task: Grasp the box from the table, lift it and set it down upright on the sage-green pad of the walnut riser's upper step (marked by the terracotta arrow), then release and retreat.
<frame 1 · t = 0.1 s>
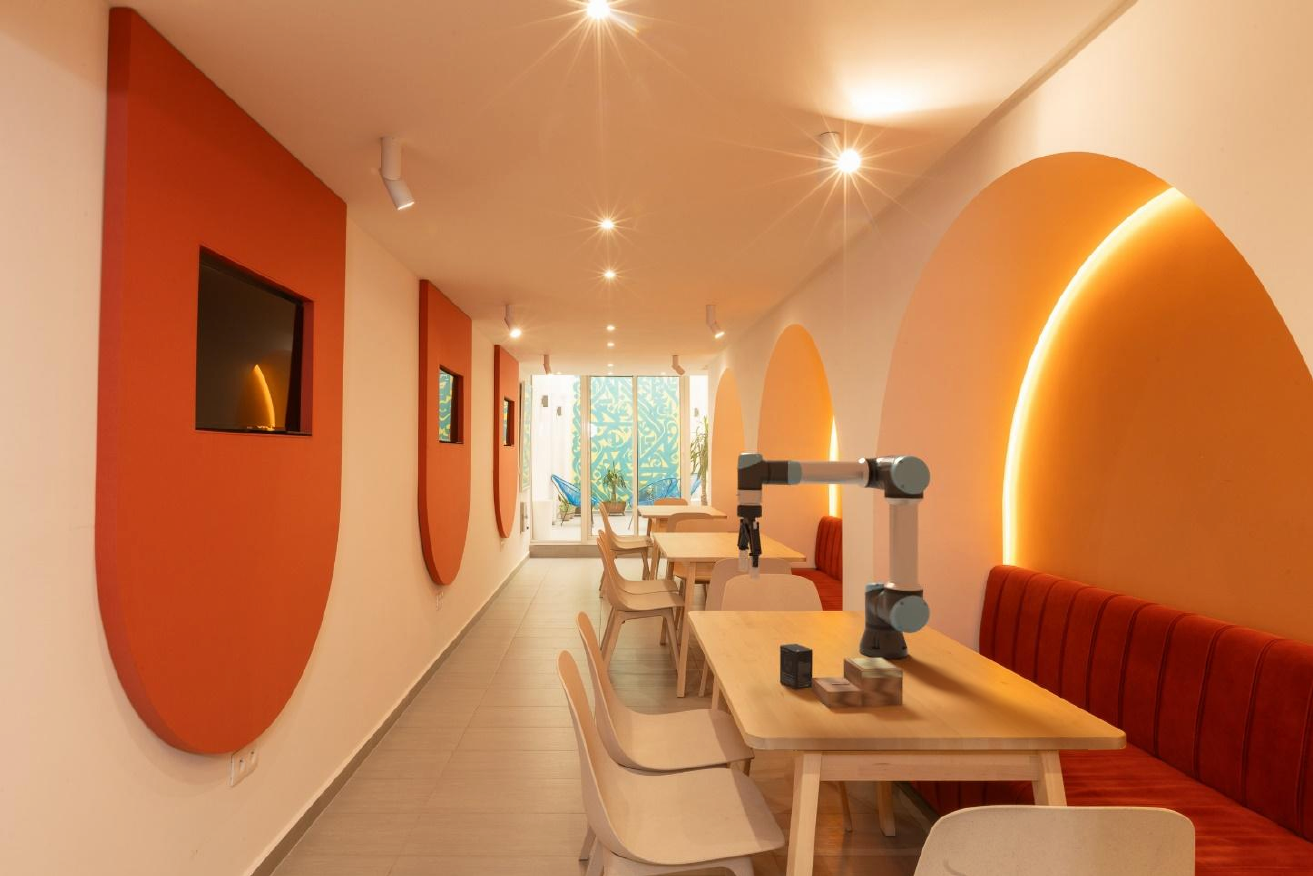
hand: (748, 574, 221), 28 cm above the table, fingers open, 13 cm apart
stand: (855, 699, 193), on the table
box: (795, 686, 204), on the table
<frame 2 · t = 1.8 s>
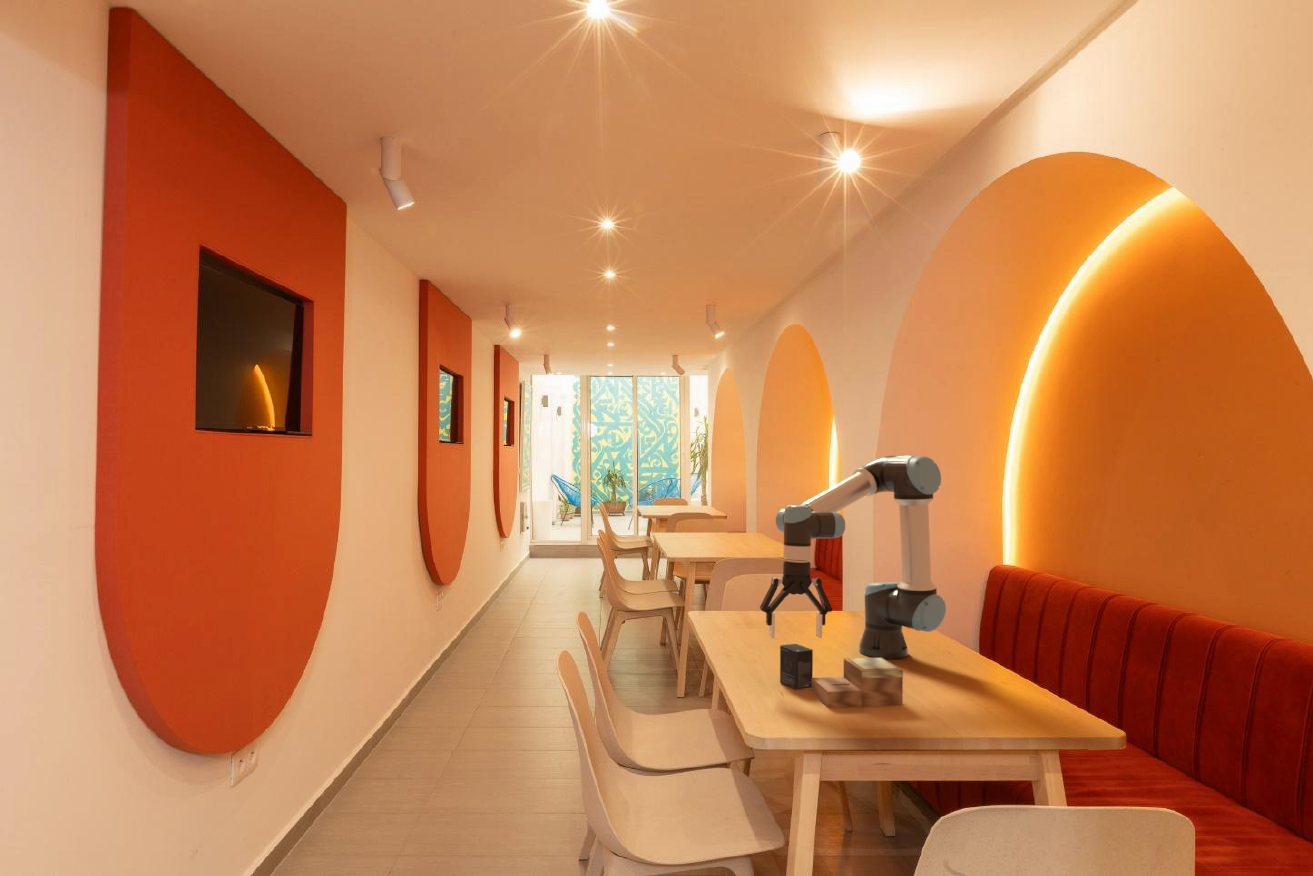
hand: (795, 637, 204), 13 cm above the table, fingers open, 13 cm apart
nothing on the table moved.
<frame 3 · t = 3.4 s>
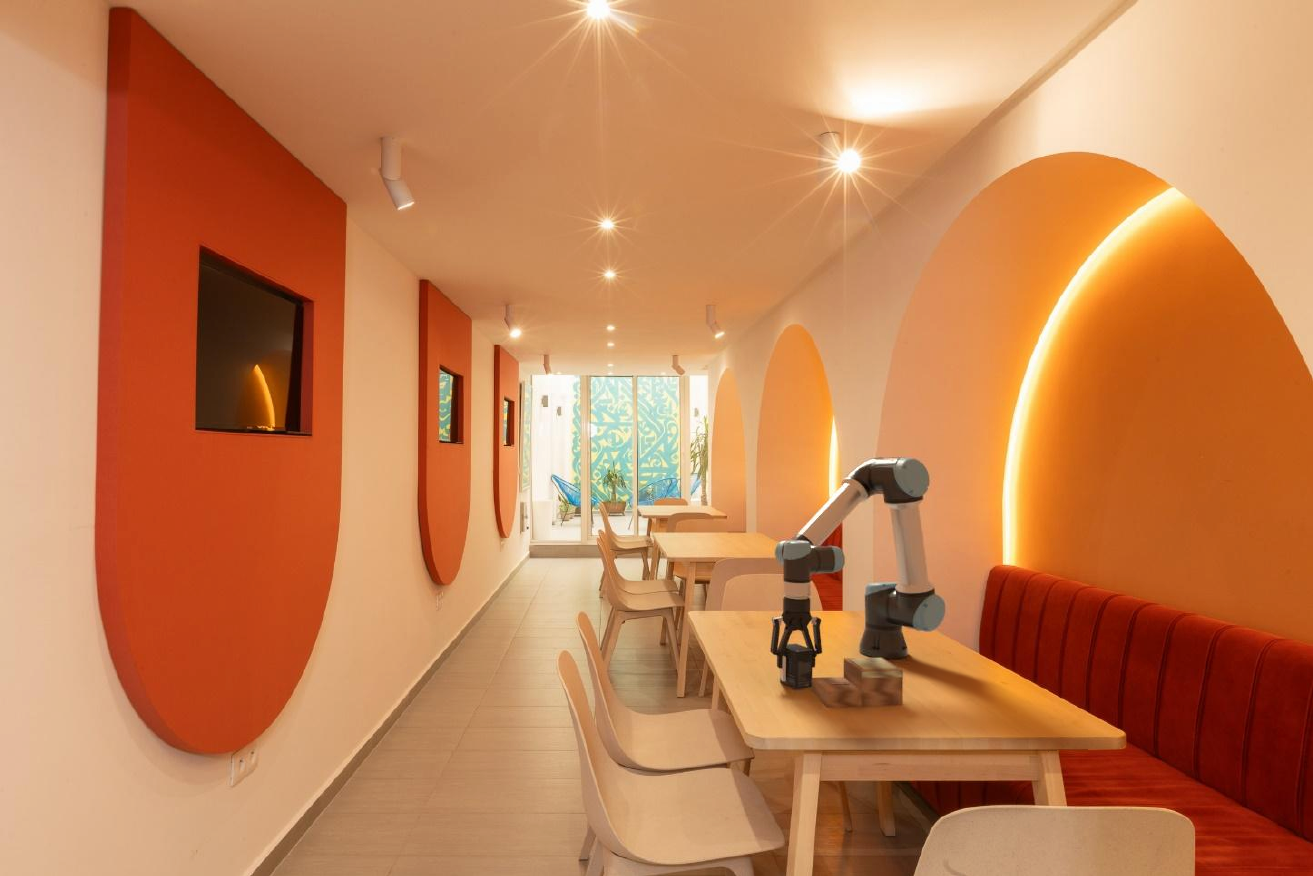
hand: (795, 679, 204), 2 cm above the table, fingers closed on box, 7 cm apart
box: (795, 685, 204), on the table, touching gripper
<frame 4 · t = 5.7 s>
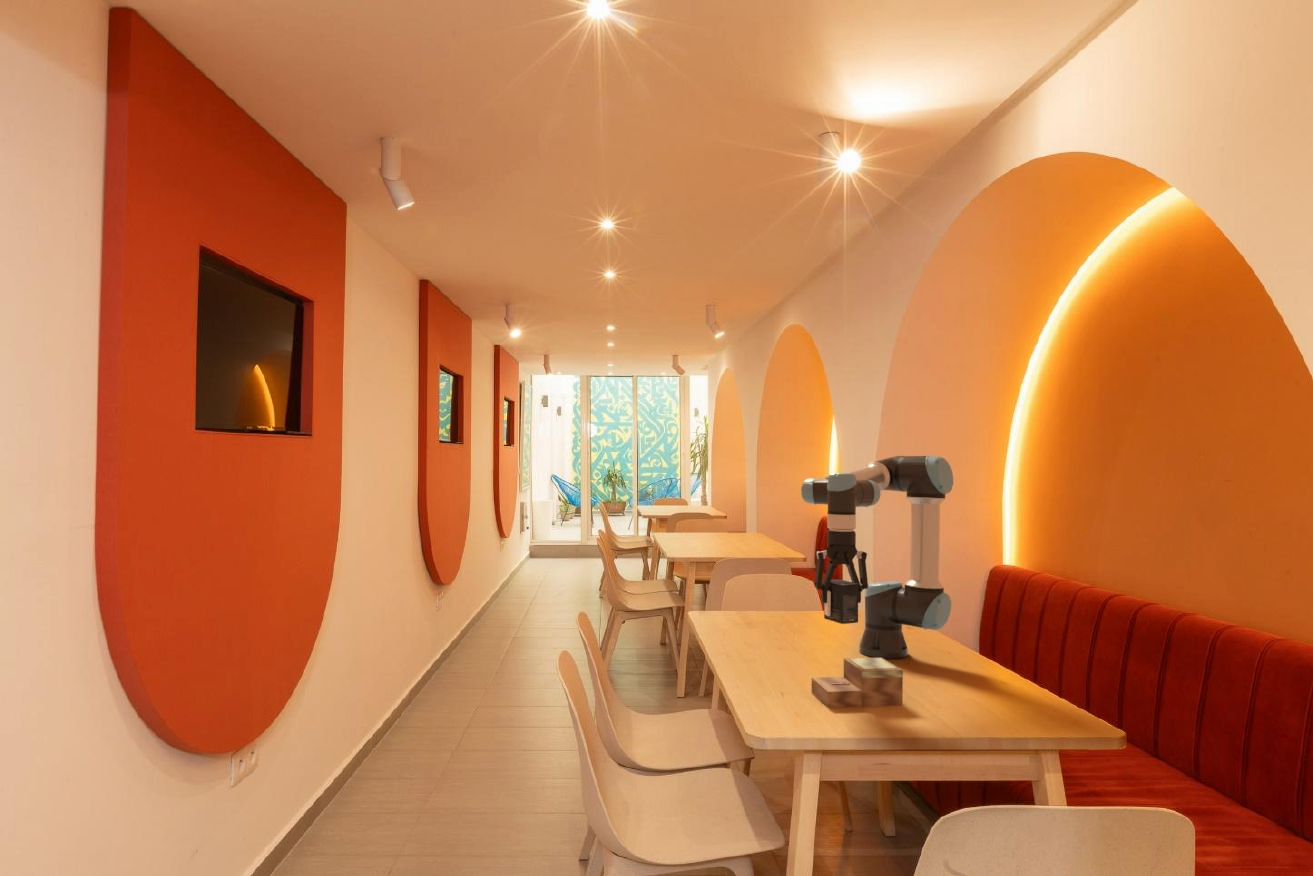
hand: (841, 614, 199), 21 cm above the table, fingers closed on box, 7 cm apart
box: (840, 621, 198), point 19 cm above the table, touching gripper
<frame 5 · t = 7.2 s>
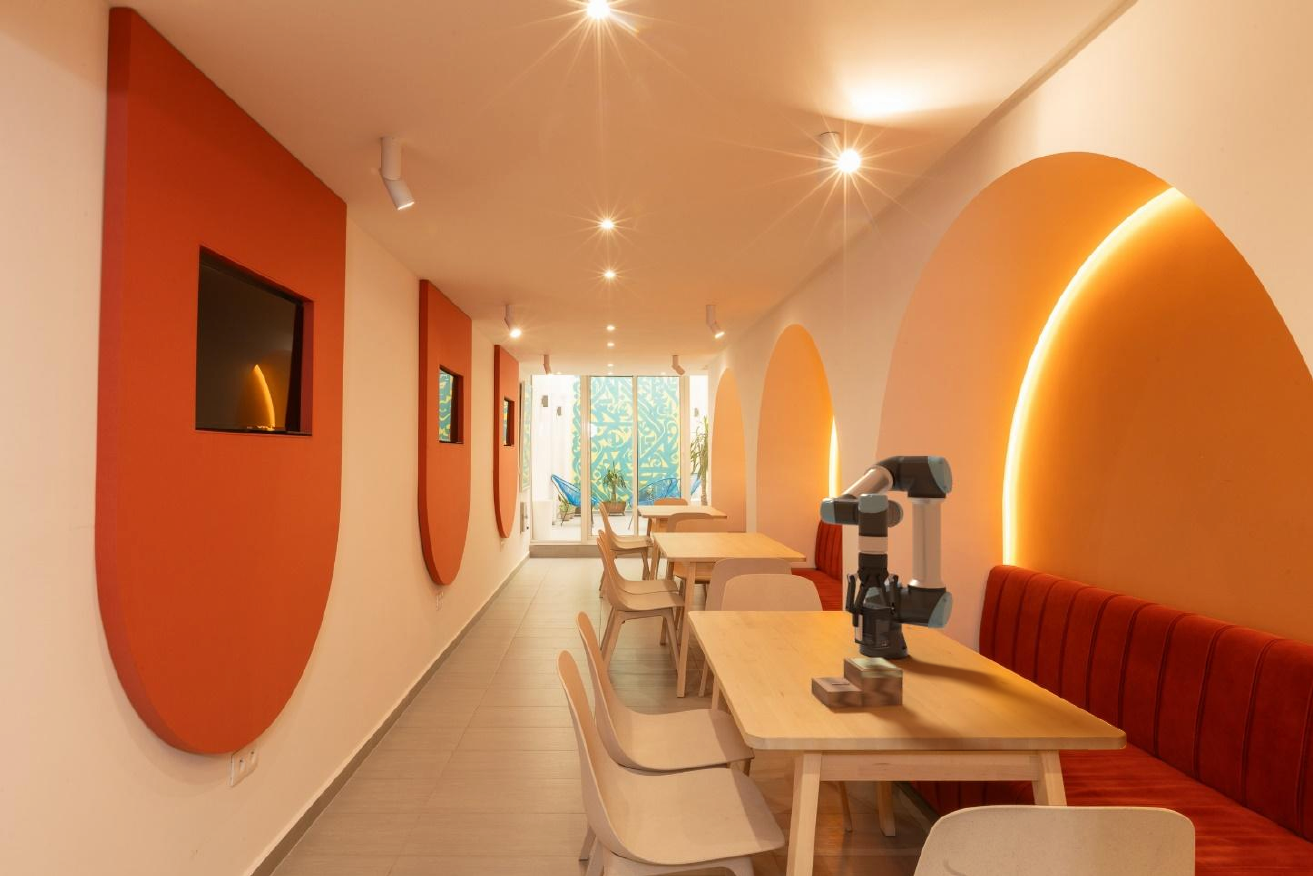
hand: (872, 639, 194), 16 cm above the table, fingers closed on box, 7 cm apart
box: (872, 646, 194), point 14 cm above the table, touching gripper
when the fingers open (12 cm above the table, at t = 8.1 s): box drops 1 cm, resting on stand.
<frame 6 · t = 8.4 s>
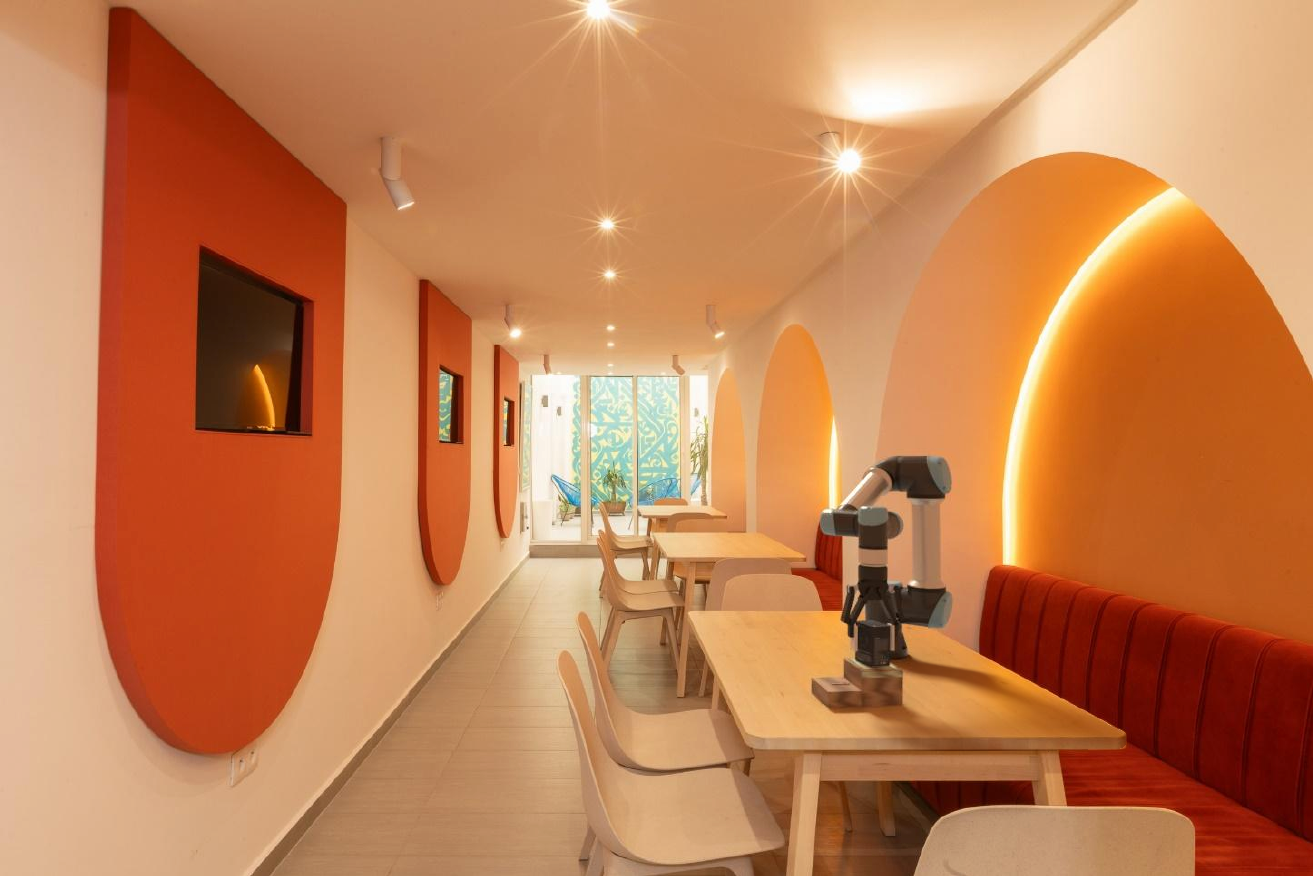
hand: (872, 649, 194), 13 cm above the table, fingers open, 9 cm apart
box: (872, 663, 194), point 9 cm above the table, touching stand
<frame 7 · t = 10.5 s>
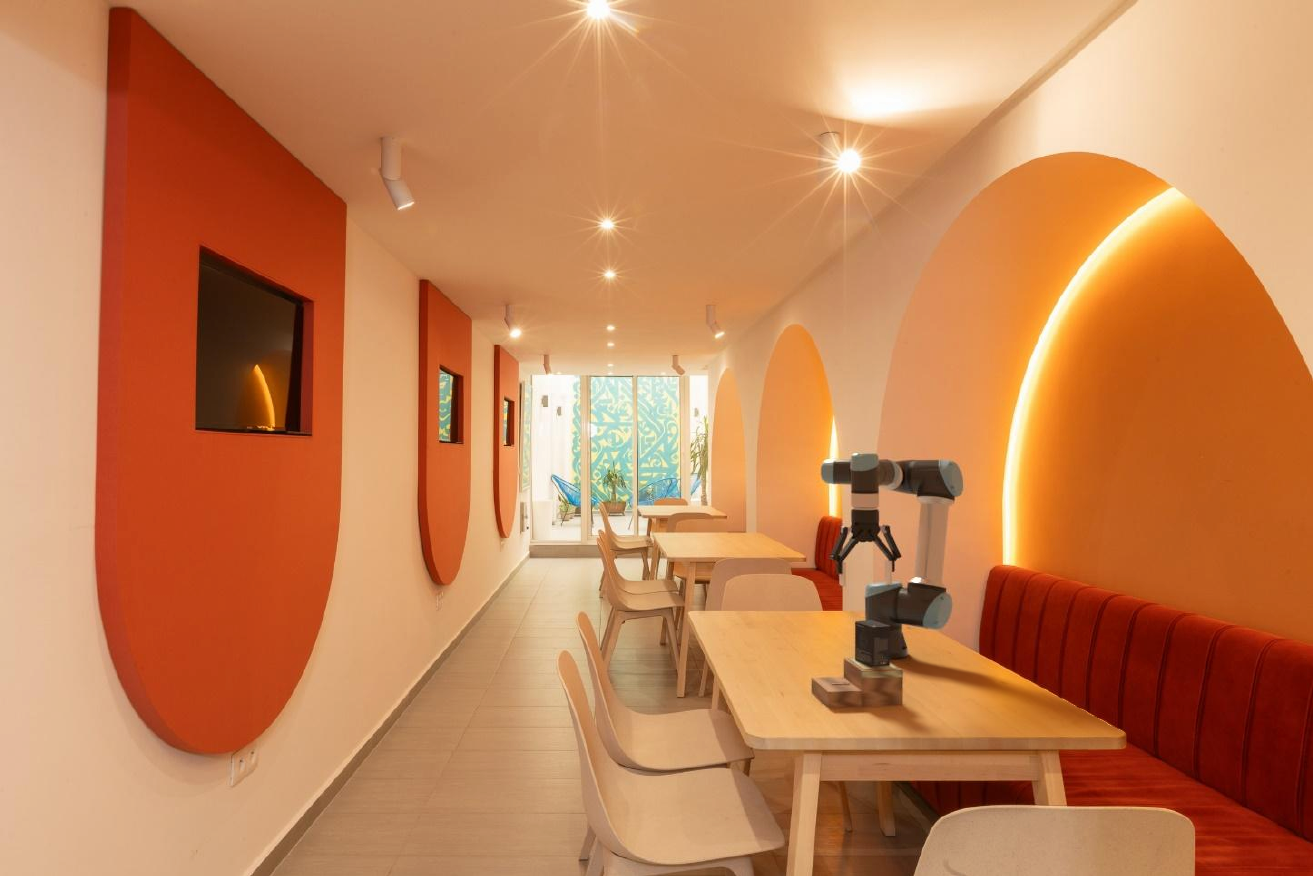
hand: (865, 584, 204), 28 cm above the table, fingers open, 13 cm apart
nothing on the table moved.
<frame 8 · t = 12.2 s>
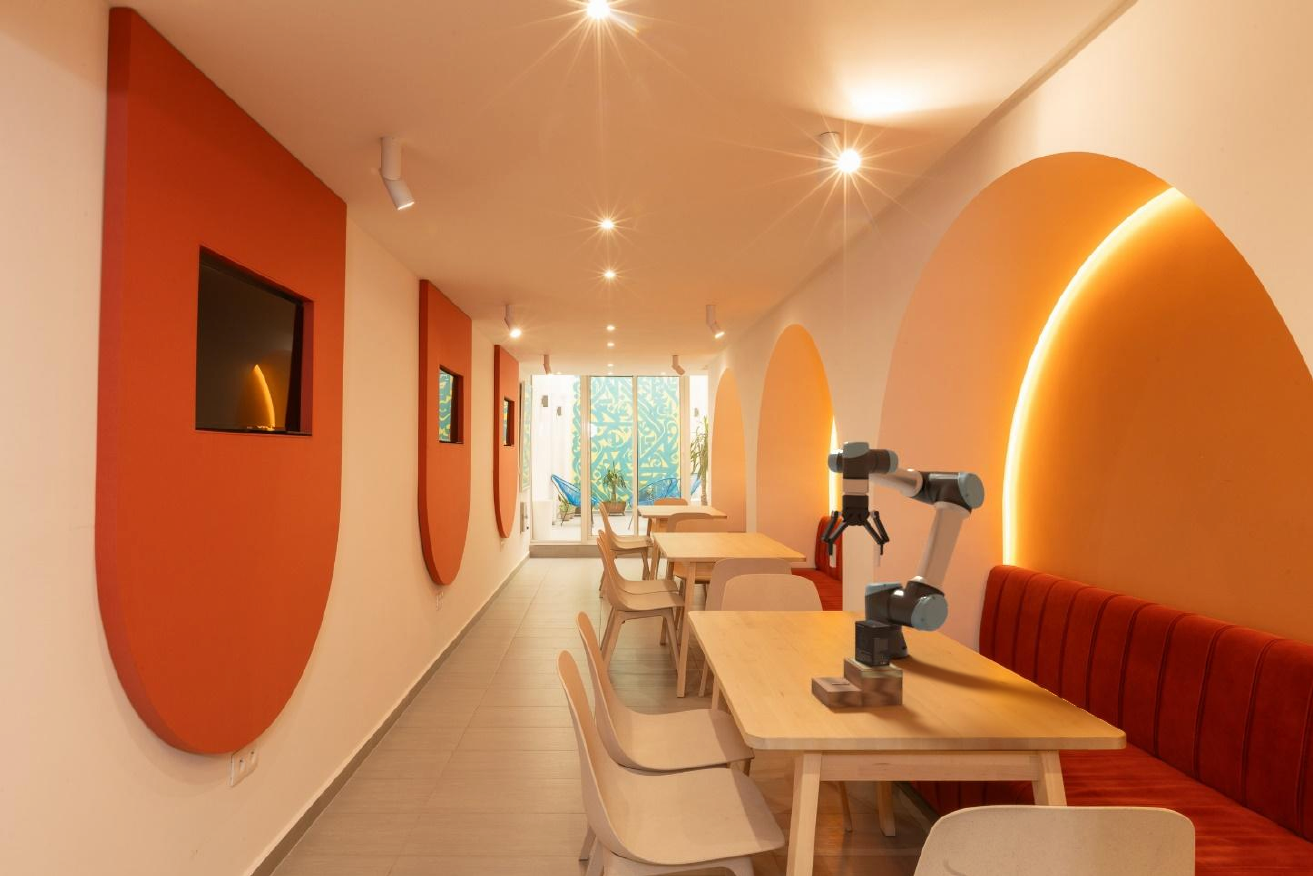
hand: (855, 566, 215), 32 cm above the table, fingers open, 13 cm apart
nothing on the table moved.
at the end: box inside the target area on the stand (0.2 cm from its centre), point 9.0 cm above the stand's base; box tilted 0°; the gripper is holding nothing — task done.
